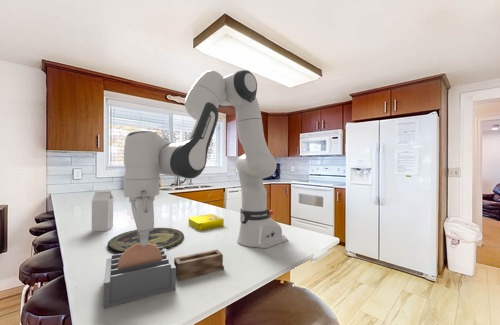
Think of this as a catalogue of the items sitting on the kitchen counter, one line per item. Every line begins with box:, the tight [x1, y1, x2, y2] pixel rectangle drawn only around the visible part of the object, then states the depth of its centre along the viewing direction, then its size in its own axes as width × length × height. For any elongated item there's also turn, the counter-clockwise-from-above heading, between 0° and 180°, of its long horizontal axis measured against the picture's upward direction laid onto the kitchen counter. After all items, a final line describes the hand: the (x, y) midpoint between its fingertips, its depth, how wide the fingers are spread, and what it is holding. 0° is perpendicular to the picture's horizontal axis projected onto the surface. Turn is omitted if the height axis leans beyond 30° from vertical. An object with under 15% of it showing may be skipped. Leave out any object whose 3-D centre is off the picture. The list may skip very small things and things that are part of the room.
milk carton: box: [91, 190, 114, 232], centre depth 112 cm, size 7×7×19 cm
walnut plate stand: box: [173, 249, 225, 282], centre depth 72 cm, size 14×7×4 cm, turn 120°
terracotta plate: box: [118, 243, 162, 268], centre depth 62 cm, size 11×1×11 cm, turn 121°
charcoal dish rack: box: [103, 247, 177, 309], centre depth 63 cm, size 16×15×7 cm
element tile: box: [188, 213, 225, 232], centre depth 122 cm, size 15×15×5 cm
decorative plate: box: [106, 227, 185, 255], centre depth 97 cm, size 30×2×30 cm
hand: (142, 239), depth 62 cm, fingers open, 8 cm apart
